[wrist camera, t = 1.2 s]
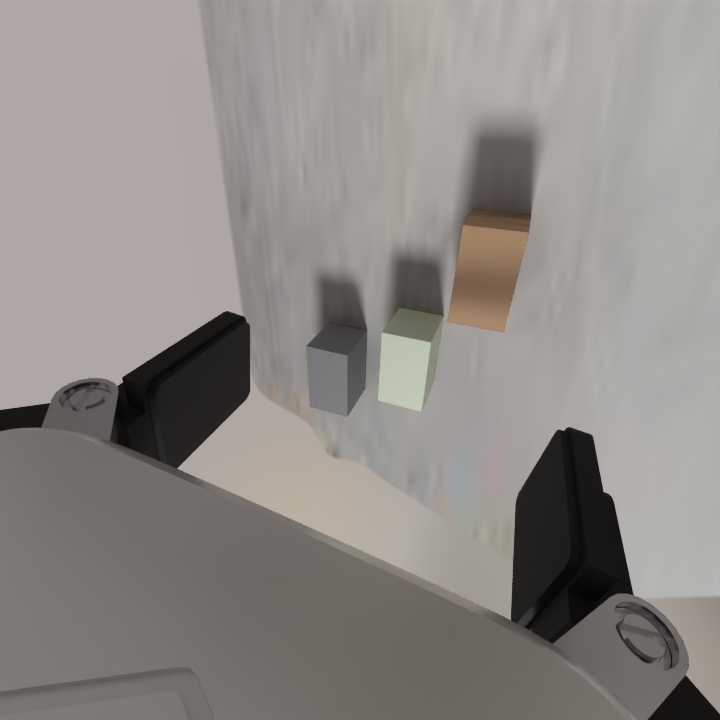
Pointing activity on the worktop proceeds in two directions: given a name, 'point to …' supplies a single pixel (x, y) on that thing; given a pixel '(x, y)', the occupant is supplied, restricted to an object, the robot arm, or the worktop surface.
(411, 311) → the sage brick
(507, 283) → the walnut brick
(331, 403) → the charcoal brick
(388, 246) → the worktop surface
